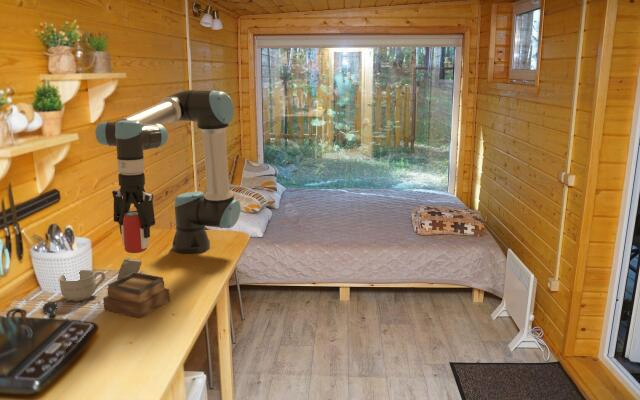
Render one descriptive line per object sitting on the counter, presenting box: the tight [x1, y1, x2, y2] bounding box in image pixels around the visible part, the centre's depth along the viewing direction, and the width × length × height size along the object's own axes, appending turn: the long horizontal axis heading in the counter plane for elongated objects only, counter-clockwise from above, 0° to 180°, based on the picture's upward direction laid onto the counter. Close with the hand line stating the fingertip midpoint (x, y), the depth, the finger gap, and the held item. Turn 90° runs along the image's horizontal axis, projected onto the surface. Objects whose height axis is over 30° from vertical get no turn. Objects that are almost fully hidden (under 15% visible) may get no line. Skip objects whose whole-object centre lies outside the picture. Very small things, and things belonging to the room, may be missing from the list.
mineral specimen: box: [116, 257, 143, 280], centre depth 194 cm, size 7×9×8 cm
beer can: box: [123, 210, 148, 254], centre depth 170 cm, size 7×7×12 cm
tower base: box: [103, 272, 171, 319], centre depth 174 cm, size 14×14×8 cm
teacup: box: [58, 269, 106, 302], centre depth 180 cm, size 14×11×8 cm
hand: (135, 245), depth 171 cm, fingers closed on beer can, 6 cm apart
